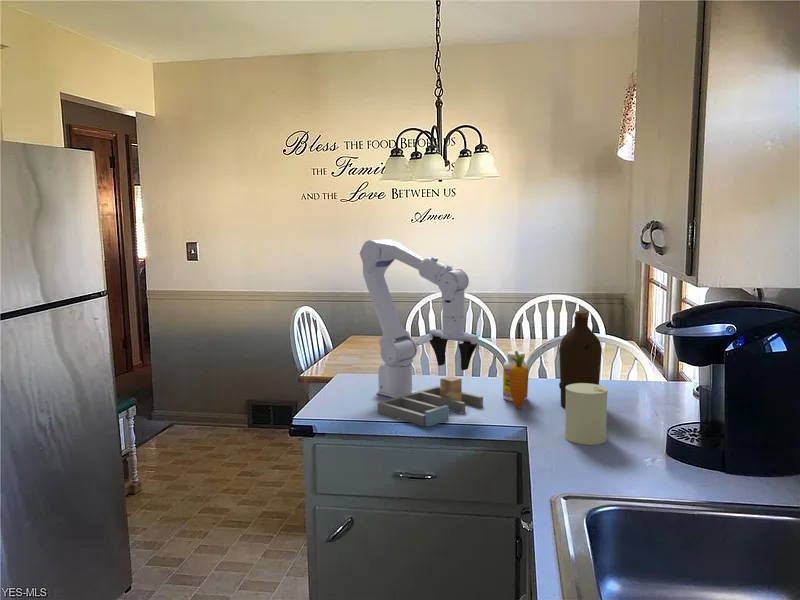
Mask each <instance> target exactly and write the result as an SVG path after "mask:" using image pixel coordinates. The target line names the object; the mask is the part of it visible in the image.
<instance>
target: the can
mask: <svg viewBox="0 0 800 600" xmlns="http://www.w3.org/2000/svg"><path fill="white" fill-rule="evenodd" d="M608 391H609V389H608V388H607V387H605V386H604V385H601V384H599V385H597V384H590V383H575V384H569V385H567V386H566V408H565V414H564V415H565V418H564V420H565V422H564V434H563V438H564V439H565V440H567V441H568V442H571V443H574V444H579V445H583V446H584V445H585V446H586V445H587V446H590V445H591V446H592V445H593V446H594V445H601V444H604V443H605V442H606V441H607V408H608Z"/></svg>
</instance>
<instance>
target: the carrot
mask: <svg viewBox="0 0 800 600" xmlns="http://www.w3.org/2000/svg"><path fill="white" fill-rule="evenodd" d="M514 351H515V355H516V357H517V359H516V358H515V357H511V358H512V359H513V360H514V361H515V362H516V364H517V365H514V366H512V367H510V369H509V385H510V391H511V396H512V399H513V401H512V402H513V404H514V406H515V407H516V409H518V410H519V409H520V408H521V407H522V405H523V404H524V402H525V400H524V399H525V397H526V392H527V387H528V388H529V374H530V373H529V372H530V371H529V367H528V368H527V367H525V366H523V365H522V362H523V357H524V355H523V354H521V357H519V354H518V351H519V350H514Z"/></svg>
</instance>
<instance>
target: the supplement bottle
mask: <svg viewBox="0 0 800 600" xmlns="http://www.w3.org/2000/svg"><path fill="white" fill-rule="evenodd" d="M515 351H516V350H511V351H507V355H506V356H507V357H506V358H507V360H506V361H505V362H504V363H503V367H502V369H503V371H502V372H503V374H502V375H503V377H502V378H503V379H502V397H503V399H504V400H506V401H507V402H508V401H510V402H513V399H512V396H511V391H510V385H509V369H510V367H512V366H514V365H517V364H516V362H515V361H514V360H513V359H512V358H511V357H515V358H516V359H517V357H516V355H515ZM517 351H518V354H519V357H521V354H523V355H524V357H523V362H522V365H523V366H525V367H527V368H528V369H529V364H528V362H526V361H525V357H526V353H525V352H524V351H519V350H517ZM528 389H529V386H528V387H527V392H526V397H525V399H524V401H526V400H528V394H529V392H528V391H529V390H528Z"/></svg>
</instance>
